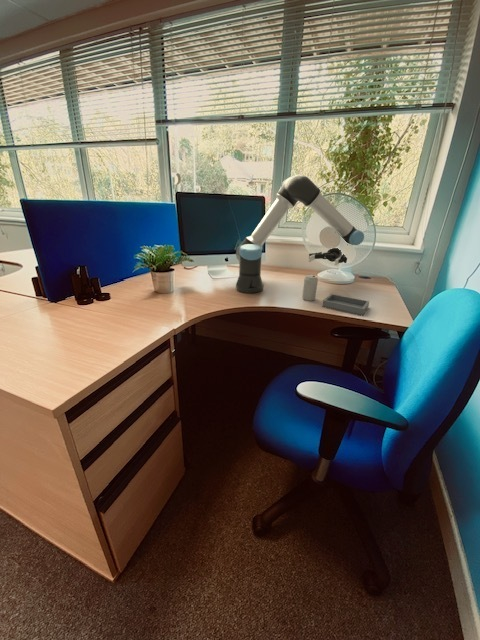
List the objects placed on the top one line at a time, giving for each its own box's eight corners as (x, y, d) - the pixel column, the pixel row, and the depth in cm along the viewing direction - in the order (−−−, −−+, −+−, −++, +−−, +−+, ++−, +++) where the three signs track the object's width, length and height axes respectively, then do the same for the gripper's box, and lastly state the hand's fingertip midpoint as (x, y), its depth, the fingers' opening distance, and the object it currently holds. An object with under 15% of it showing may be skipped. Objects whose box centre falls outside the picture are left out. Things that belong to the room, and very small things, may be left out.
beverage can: (315, 301, 129) (318, 278, 124) (302, 300, 131) (304, 277, 125) (314, 297, 135) (317, 274, 130) (302, 296, 136) (304, 274, 131)
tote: (322, 306, 124) (323, 300, 122) (329, 299, 133) (331, 293, 131) (362, 315, 114) (364, 309, 113) (368, 307, 123) (369, 301, 122)
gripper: (356, 263, 145) (346, 271, 130) (312, 258, 158) (298, 264, 142) (358, 249, 142) (348, 256, 126) (314, 245, 155) (300, 250, 139)
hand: (322, 260), depth 134 cm, fingers open, 13 cm apart
